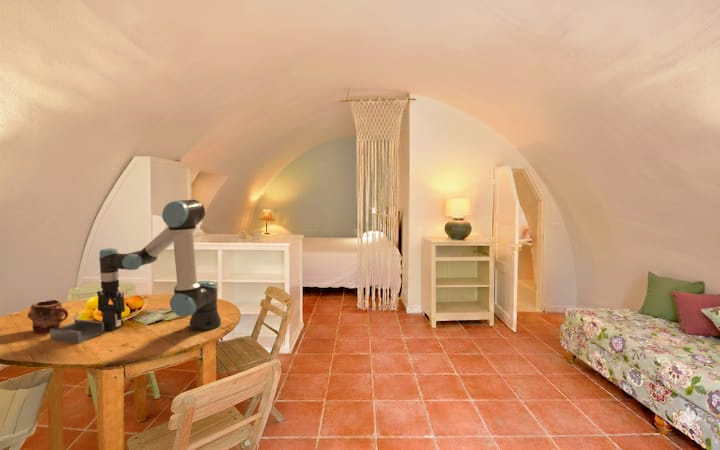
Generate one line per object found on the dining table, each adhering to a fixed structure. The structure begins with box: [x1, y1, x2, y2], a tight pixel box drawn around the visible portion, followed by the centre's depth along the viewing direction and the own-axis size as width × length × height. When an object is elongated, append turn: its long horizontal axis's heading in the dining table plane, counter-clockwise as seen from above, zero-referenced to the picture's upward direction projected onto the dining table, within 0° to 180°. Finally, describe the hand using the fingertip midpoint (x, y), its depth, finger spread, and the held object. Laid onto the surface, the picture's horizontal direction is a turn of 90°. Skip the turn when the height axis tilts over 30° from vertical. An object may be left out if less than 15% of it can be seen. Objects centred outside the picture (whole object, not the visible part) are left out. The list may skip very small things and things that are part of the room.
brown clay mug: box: [27, 299, 69, 335], centre depth 196 cm, size 20×12×14 cm, turn 89°
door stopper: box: [101, 303, 124, 332], centre depth 201 cm, size 9×6×12 cm, turn 178°
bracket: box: [49, 318, 106, 344], centre depth 191 cm, size 16×14×5 cm
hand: (112, 325), depth 201 cm, fingers closed on door stopper, 6 cm apart
